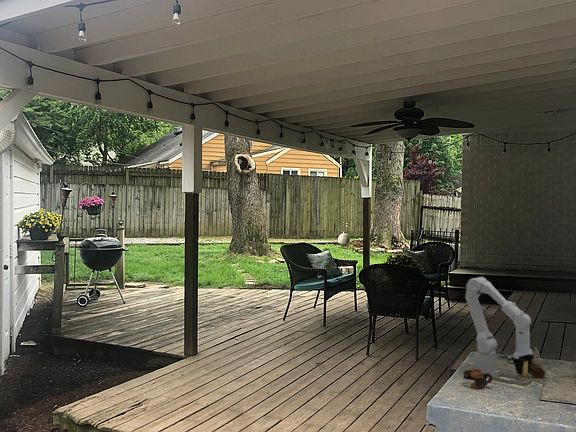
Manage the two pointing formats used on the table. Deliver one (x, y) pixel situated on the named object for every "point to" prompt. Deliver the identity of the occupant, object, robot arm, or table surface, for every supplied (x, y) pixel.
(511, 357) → the bike brake
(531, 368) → the bolt
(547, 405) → the table surface
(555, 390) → the table surface
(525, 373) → the brass peg
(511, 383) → the keyhole plate
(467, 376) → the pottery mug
